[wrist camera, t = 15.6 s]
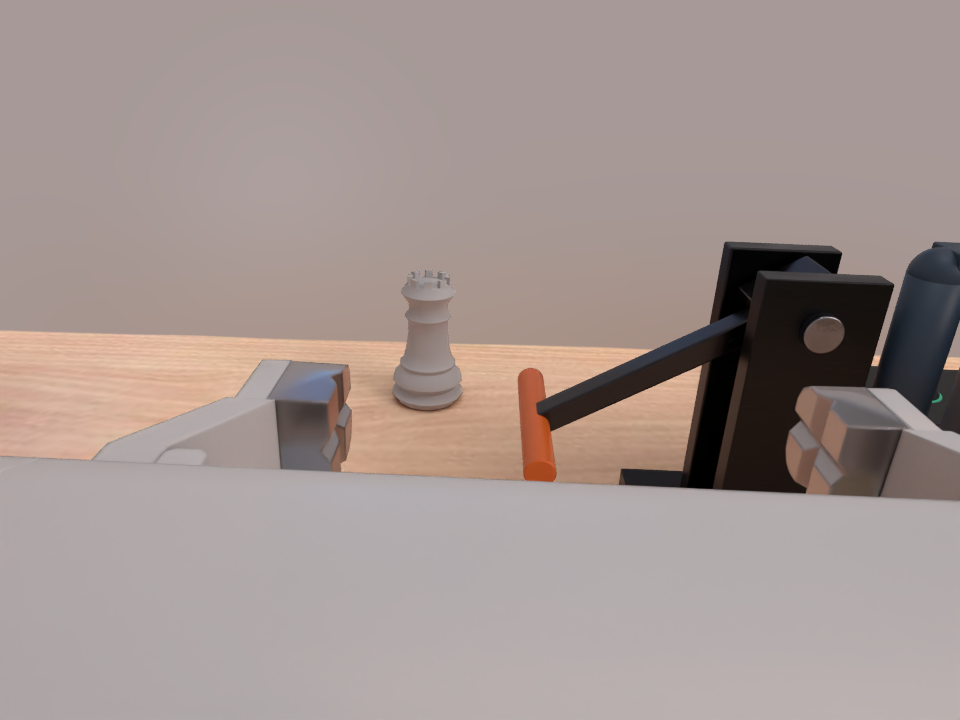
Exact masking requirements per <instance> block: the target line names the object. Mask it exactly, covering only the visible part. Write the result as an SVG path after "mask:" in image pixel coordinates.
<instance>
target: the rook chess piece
mask: <svg viewBox="0 0 960 720" xmlns="http://www.w3.org/2000/svg"><path fill="white" fill-rule="evenodd" d="M407 279H408V281H407V283H406V284H405V286H404V287H403V288H402V291H401V293H402V294H403V296H404V297H405V298H406V300H407V301H408V302H409V310H408V311H407V312H406V313H405V317H406V318H407V319H408V321H409V322H408V326H409V327H408V329H409V330H408V331H409V332H408V339H407V346H406V350H405V353H404V356H403V357H402V358H401V361H400V363H401V364H400V365H399V366H398V367H396V369H395V373H394V381H395V382H396V384H395V385H394V386H393V393H394V395H395V396H396V397H397V399H398V400H399V401H400V402H401V403H402V404H403V405H405V406H407V407H409V408H413V409H418V410H437V409H442V408H446V407H448V406H450V405H452V404H453V403H454V402H455V401H456V400H457V399H458V397H459V396H460V395H461V394H462V386H461V385H460V384H459V383H460V382H461V380H462V379H461V372H460V369H459V368H458V367H457V366H456V365H455V359H454V358H453V357H452V354H451V351H450V346H449V337H448V320H449V319H450V318H451V313H450V312H449V311H448V303H449V302H450V300H451V299H452V298H453V296H454V295H455V294H456V292H455V289H454V288H453V287H452V285H451V284H450V276H449V275H446V272H443V271H439V272H438V278H436V277H433V270H425V277H420V271H418V270H417V271H413V272H411V274H408V278H407Z"/></svg>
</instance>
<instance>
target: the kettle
mask: <svg viewBox="0 0 960 720" xmlns="http://www.w3.org/2000/svg"><path fill="white" fill-rule="evenodd" d="M959 321H960V243H949V242H934V243H933V246H932V249H928V250H926V251H923V252H922V253H920V254H919V255H917V256H916V257H915V258H914V259H913V260H912V261H911V263H910V264H909V266H908V268H907V270H906V274H905V277H904V280H903V284H902V287H901V291H900V294H899V297H898V301H897V305H896V307H895V311H894V314H893V318H892V321H891V324H890V328H889V331H888V335H887V338H886V341H885V345H884V348H883V351H882V355H881V358H880V362H879V365H878V368H877V372H876V375H875V378H874V382H873V385H872V388H889V389H894V390H896V391H897V392H899V393H900V394H901V395H902V396H903V397H904V398H905V399H907V400H908V401H909V402H910V403H911V404H912V405H913V406H915V407H916V408H917V409H918V410H919V411H920V412H921V413H923V414H924V415H925V416H926V417H927V416H928V413H929V410H930V407H931V404H932V401H933V398H934V395H935V392H936V389H937V386H938V383H939V380H940V377H941V374H942V371H943V368H944V365H945V362H946V359H947V356H948V353H949V351H950V348H951V345H952V341H953V339H954V336H955V333H956V330H957V327H958V324H959ZM939 428H940V429H941V430H942V431H952V432H954V433H957V434H960V368H959V371H958V374H957V377H956V380H955V383H954V385H953V388H952V391H951V394H950V397H949V400H948V403H947V406H946V408H945V411H944V414H943V417H942V420H941V423H940V426H939Z"/></svg>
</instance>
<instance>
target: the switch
mask: <svg viewBox="0 0 960 720" xmlns="http://www.w3.org/2000/svg"><path fill="white" fill-rule="evenodd" d="M774 271H778V272H801V273H825V274H831V273H830V272H829V271H828V270H826V269H825V268H823V267H822V266H821V265H819V264H818V263H816V262H815V261H813V260H812V259H811V258H809V257H808V256H805V257H803V258H800V259H798V260H796V261H794V262H792V263H790V264H787V265H785V266H783V267H781V268H779V269H777V270H774ZM755 281H756V279H755V280H753V281H750V282H748V283H746V284H744V285H742V286H740V287H739V291H740V293H741V296H742V298H743V301H744V303H745V306H746V308H745V309H743V310H741V311H739V312H736V313H734V314H732V315H730V316H728V317H725V318H723V319H721V320H719V321H717V322H714V323H712V324H710V325H708V326H706V327H703V328H701V329H699V330H697V331H694V332H693V333H690V334H688V335H686V336H683V337H681V338H679V339H677V340H675V341H672V342H670V343H668V344H666V345H663V346H661V347H659V348H657V349H655V350H652V351H650V352H648V353H646V354H644V355H641V356H639V357H637V358H635V359H633V360H630V361H628V362H626V363H624V364H621V365H619V366H617V367H615V368H613V369H610V370H608V371H606V372H604V373H602V374H599V375H597V376H595V377H593V378H591V379H588V380H586V381H584V382H582V383H579V384H577V385H575V386H573V387H571V388H568V389H566V390H564V391H562V392H560V393H557V394H555V395H553V396H551V397H549V398H546V394H545V387H544V380H543V375H542V374H541V372H540V371H538V370H537V369H534V368H528V369H525V370H523V371H522V372H521V373H520V374H519V376H518V394H519V410H520V425H521V441H522V457H523V473H524V478H525V480H526V481H546V482H553V481H554V480H555V478H556V466H555V459H554V452H553V445H552V437H551V431H553V430H555V429H558V428H560V427H562V426H564V425H567V424H569V423H571V422H573V421H576V420H578V419H580V418H583V417H585V416H587V415H589V414H592V413H594V412H596V411H598V410H601V409H603V408H605V407H607V406H610V405H612V404H614V403H617V402H619V401H621V400H623V399H626V398H628V397H630V396H632V395H635V394H637V393H639V392H641V391H644V390H646V389H648V388H651V387H653V386H655V385H657V384H660V383H662V382H664V381H666V380H669V379H671V378H673V377H675V376H678V375H680V374H682V373H685V372H687V371H689V370H691V369H694V368H696V367H698V366H700V365H703V364H705V363H707V362H709V361H712V360H714V359H716V358H719V357H721V356H723V355H725V354H728V353H730V352H732V351H734V350H737V349H739V348H741V347H742V344H743V339H744V334H745V329H746V324H747V320H748V315H749V310H750V305H751V300H752V295H753V290H754V286H755Z"/></svg>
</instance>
